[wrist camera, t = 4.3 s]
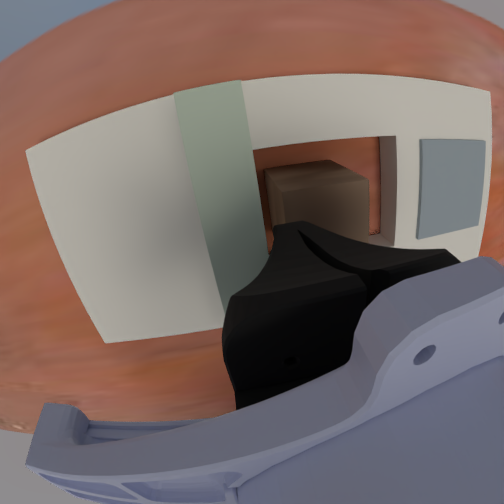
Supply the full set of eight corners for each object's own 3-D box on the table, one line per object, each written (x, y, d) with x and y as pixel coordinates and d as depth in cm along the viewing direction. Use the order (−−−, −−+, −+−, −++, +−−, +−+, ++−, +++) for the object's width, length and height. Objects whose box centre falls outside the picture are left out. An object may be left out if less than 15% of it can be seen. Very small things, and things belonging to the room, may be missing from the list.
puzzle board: (471, 89, 14) (492, 92, 12) (463, 251, 21) (478, 264, 19) (42, 144, 13) (22, 151, 11) (112, 325, 20) (104, 345, 18)
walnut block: (329, 159, 16) (369, 179, 12) (333, 220, 18) (367, 258, 14) (263, 168, 16) (281, 192, 12) (272, 232, 18) (290, 274, 14)
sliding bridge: (232, 92, 12) (240, 79, 7) (269, 315, 18) (285, 379, 13) (189, 100, 12) (173, 92, 7) (238, 322, 18) (246, 386, 13)
